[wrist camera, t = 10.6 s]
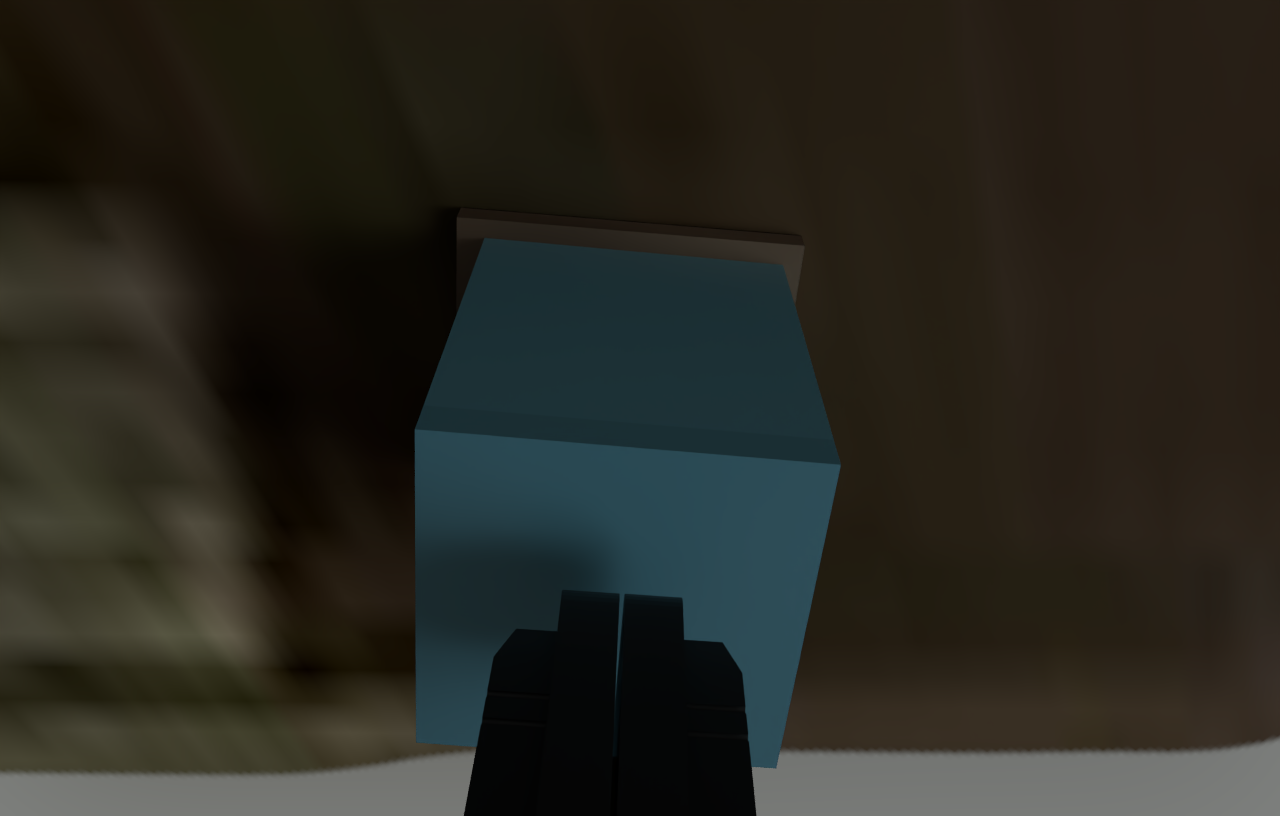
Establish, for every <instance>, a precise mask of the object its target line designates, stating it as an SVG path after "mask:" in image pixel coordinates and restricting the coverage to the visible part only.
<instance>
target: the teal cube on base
mask: <svg viewBox="0 0 1280 816" xmlns="http://www.w3.org/2000/svg"><path fill="white" fill-rule="evenodd" d="M840 466H841V464H840V460H839V457H838V453H837V450H836V447H835V443H834V440H833V436H832V433H831V429H830V426H829V422H828V419H827V415H826V412H825V408H824V405H823V402H822V398H821V395H820V391H819V388H818V384H817V381H816V377H815V374H814V370H813V367H812V363H811V360H810V356H809V353H808V350H807V346H806V343H805V339H804V336H803V332H802V329H801V325H800V322H799V318H798V315H797V311H796V308H795V305H794V301H793V298H792V294H791V291H790V287H789V284H788V280H787V277H786V273H785V270H784V266H783V265H778V264H767V263H756V262H745V261H734V260H723V259H712V258H701V257H690V256H679V255H668V254H657V253H646V252H634V251H623V250H612V249H601V248H590V247H579V246H568V245H557V244H546V243H535V242H524V241H513V240H502V239H491V238H484V241H483V244H482V246H481V249H480V252H479V255H478V257H477V260H476V263H475V266H474V268H473V271H472V274H471V276H470V279H469V282H468V285H467V287H466V290H465V293H464V296H463V298H462V301H461V304H460V307H459V309H458V312H457V315H456V318H455V320H454V323H453V326H452V329H451V331H450V334H449V337H448V340H447V342H446V345H445V348H444V351H443V353H442V356H441V359H440V362H439V364H438V367H437V370H436V373H435V375H434V378H433V381H432V384H431V386H430V389H429V392H428V395H427V397H426V400H425V403H424V406H423V408H422V411H421V414H420V417H419V419H418V422H417V425H416V428H415V576H416V742H417V743H431V744H445V745H459V746H472V747H477V742H478V737H479V732H480V726H481V724H482V716H483V710H484V705H485V699H486V697H487V689H488V683H489V678H490V673H491V667H492V662H493V657H494V655H495V654H496V653H497V652H498V650H499V649H500V648H501V647H502V645H503V644H504V643H505V642H506V640H507V639H508V638H509V637H510V635H511V634H512V633H513V632H514V631H515V629H530V630H545V631H557V628H558V620H559V611H560V603H561V594H562V590H576V591H590V592H605V593H619V594H620V601H619V624H618V646H617V669H616V683H617V672H618V660H619V649H620V637H621V626H622V615H623V604H624V595H625V594H638V595H652V596H667V597H682V599H683V617H684V640H697V641H712V642H723V644H724V645H725V647H726V648H727V650H728V651H729V653H730V655H731V656H732V658H733V659H734V661H735V662H736V664H737V665H738V667H739V668H740V670H741V672H742V674H743V684H744V695H745V705H746V708H745V713H746V715H747V725H748V741H749V746H750V756H751V766H752V767H764V768H776V766H777V762H778V757H779V752H780V748H781V743H782V738H783V734H784V729H785V724H786V719H787V715H788V710H789V705H790V701H791V696H792V691H793V687H794V682H795V677H796V673H797V668H798V663H799V658H800V654H801V649H802V644H803V640H804V635H805V630H806V626H807V621H808V616H809V612H810V607H811V602H812V597H813V593H814V588H815V583H816V579H817V574H818V569H819V565H820V560H821V555H822V551H823V546H824V541H825V536H826V532H827V527H828V522H829V518H830V513H831V508H832V504H833V499H834V494H835V490H836V485H837V480H838V475H839V471H840ZM615 695H616V691H615Z"/></svg>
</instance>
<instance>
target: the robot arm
mask: <svg viewBox="0 0 1280 816" xmlns="http://www.w3.org/2000/svg"><path fill="white" fill-rule="evenodd" d="M619 601H620V594H619V593H605V592H590V591H576V590H562V594H561V603H560V611H559V620H558V628H557V631H545V630H530V629H515V631H514V632H513V633H512V634H511V635H510V637H509V638H508V639H507V640H506V642H505V643H504V644H503V645H502V647H501V648H500V649H499V650H498V652H497V653H496V654H495V655H494V657H493V662H492V667H491V673H490V678H489V683H488V689H487V697H486V699H485V705H484V710H483V716H482V724H481V726H480V732H479V737H478V742H477V748H476V753H475V758H474V764H473V769H472V775H471V780H470V785H469V791H468V797H467V802H466V807H465V812H464V816H756V808H755V797H754V787H753V777H752V766H751V756H750V746H749V741H748V725H747V715H746V713H745V708H746V705H745V695H744V684H743V674H742V672H741V670H740V668H739V667H738V665H737V664H736V662H735V661H734V659H733V658H732V656H731V655H730V653H729V651H728V650H727V648H726V647H725V645H724V644H723V642H712V641H697V640H684V617H683V599H682V597H667V596H652V595H638V594H625V595H624V604H623V615H622V626H621V637H620V649H619V660H618V672H617V683H616V669H617V646H618V624H619ZM615 691H616V695H615Z"/></svg>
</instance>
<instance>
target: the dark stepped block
mask: <svg viewBox="0 0 1280 816" xmlns="http://www.w3.org/2000/svg"><path fill="white" fill-rule="evenodd" d="M484 238H491V239H502V240H513V241H524V242H535V243H546V244H557V245H568V246H579V247H590V248H601V249H612V250H623V251H634V252H646V253H657V254H668V255H679V256H690V257H701V258H712V259H723V260H734V261H745V262H756V263H767V264H778V265H783V266H784V270H785V273H786V277H787V280H788V284H789V287H790V291H791V294H792V298H793V301H794V305H795V302H796V296H797V290H798V284H799V278H800V272H801V265H802V259H803V253H804V247H805V245H804V242H803V240H802V237H801V236H797V235H785V234H773V233H761V232H749V231H737V230H725V229H712V228H700V227H688V226H676V225H664V224H652V223H640V222H628V221H616V220H604V219H592V218H580V217H568V216H556V215H543V214H531V213H519V212H507V211H495V210H483V209H471V208H461V209H460V211H459V213H458V216H457V275H456V315H457V312H458V309H459V307H460V304H461V301H462V298H463V296H464V293H465V290H466V287H467V285H468V282H469V279H470V276H471V274H472V271H473V268H474V266H475V263H476V260H477V257H478V255H479V252H480V249H481V246H482V244H483V241H484Z"/></svg>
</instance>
